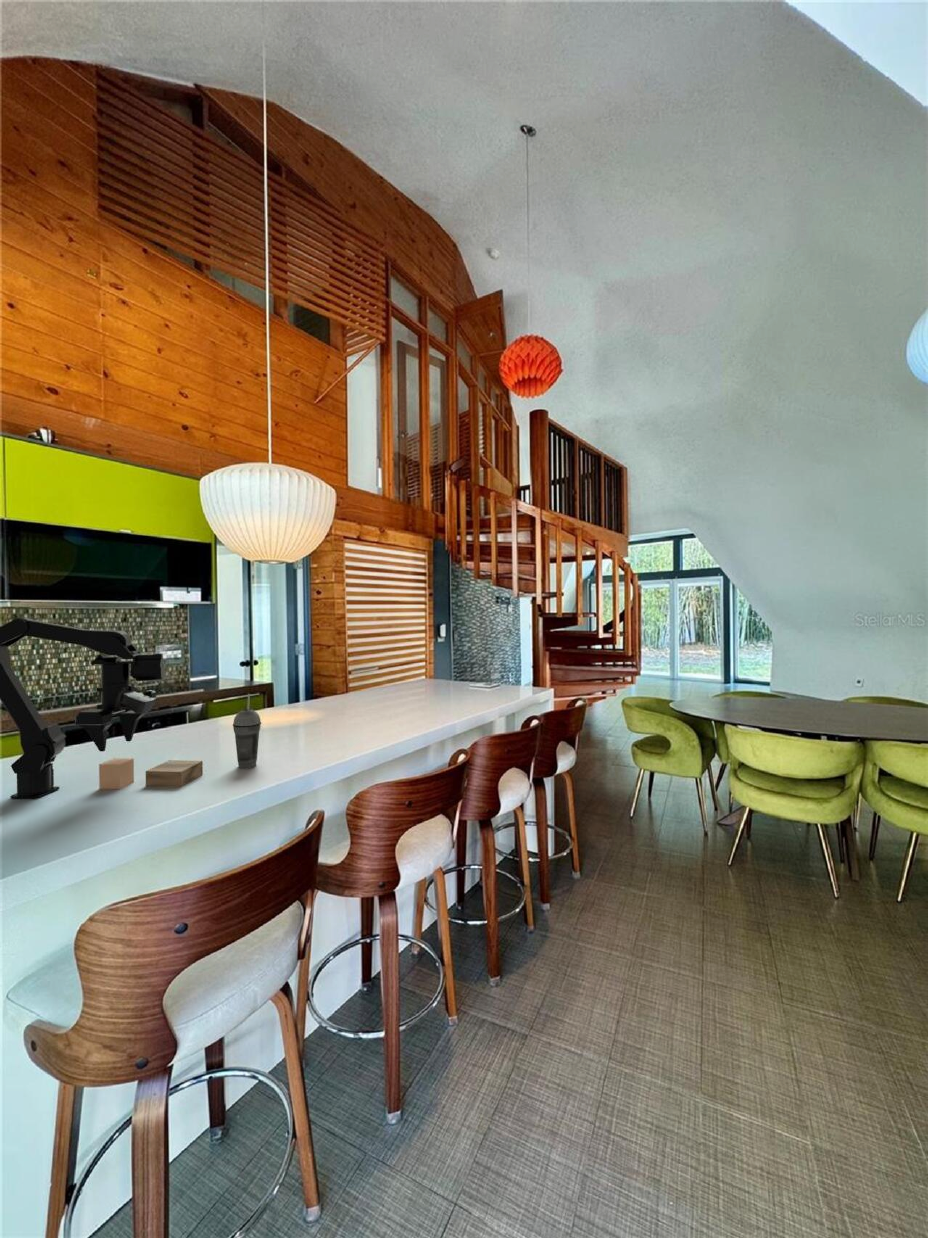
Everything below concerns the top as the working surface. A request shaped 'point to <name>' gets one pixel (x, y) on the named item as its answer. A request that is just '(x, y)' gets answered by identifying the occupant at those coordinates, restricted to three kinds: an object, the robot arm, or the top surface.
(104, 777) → the terracotta cube
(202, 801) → the top surface
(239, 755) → the beverage cup
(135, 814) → the top surface
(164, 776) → the walnut box
